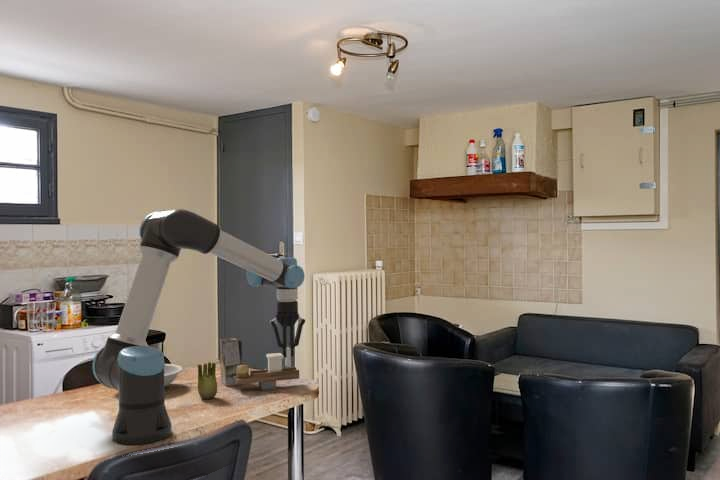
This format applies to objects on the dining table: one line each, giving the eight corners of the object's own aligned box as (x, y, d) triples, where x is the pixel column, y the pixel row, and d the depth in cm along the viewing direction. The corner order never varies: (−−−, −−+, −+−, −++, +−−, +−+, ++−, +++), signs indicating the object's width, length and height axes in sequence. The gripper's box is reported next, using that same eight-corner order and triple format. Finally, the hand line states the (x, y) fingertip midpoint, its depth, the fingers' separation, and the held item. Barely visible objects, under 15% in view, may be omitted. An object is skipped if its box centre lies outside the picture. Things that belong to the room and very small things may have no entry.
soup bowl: (191, 380, 225) (191, 363, 225) (170, 397, 201) (170, 378, 201) (128, 381, 225) (128, 363, 225) (99, 398, 201) (99, 378, 201)
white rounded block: (283, 375, 211) (283, 355, 211) (269, 376, 209) (268, 356, 209) (280, 372, 216) (280, 352, 216) (266, 373, 215) (266, 354, 215)
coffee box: (242, 384, 218) (242, 340, 218) (225, 386, 215) (224, 342, 215) (237, 379, 226) (236, 336, 226) (220, 381, 223) (219, 338, 223)
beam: (299, 387, 212) (299, 363, 212) (237, 393, 205) (236, 368, 205) (295, 383, 219) (295, 359, 219) (234, 388, 212) (234, 364, 212)
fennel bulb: (196, 400, 197) (196, 363, 197) (202, 396, 202) (201, 360, 202) (214, 400, 197) (213, 363, 197) (218, 396, 202) (218, 360, 202)
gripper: (302, 298, 220) (303, 362, 220) (267, 300, 216) (268, 365, 216) (307, 300, 213) (308, 366, 213) (271, 302, 209) (271, 369, 209)
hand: (288, 366), depth 214 cm, fingers closed
